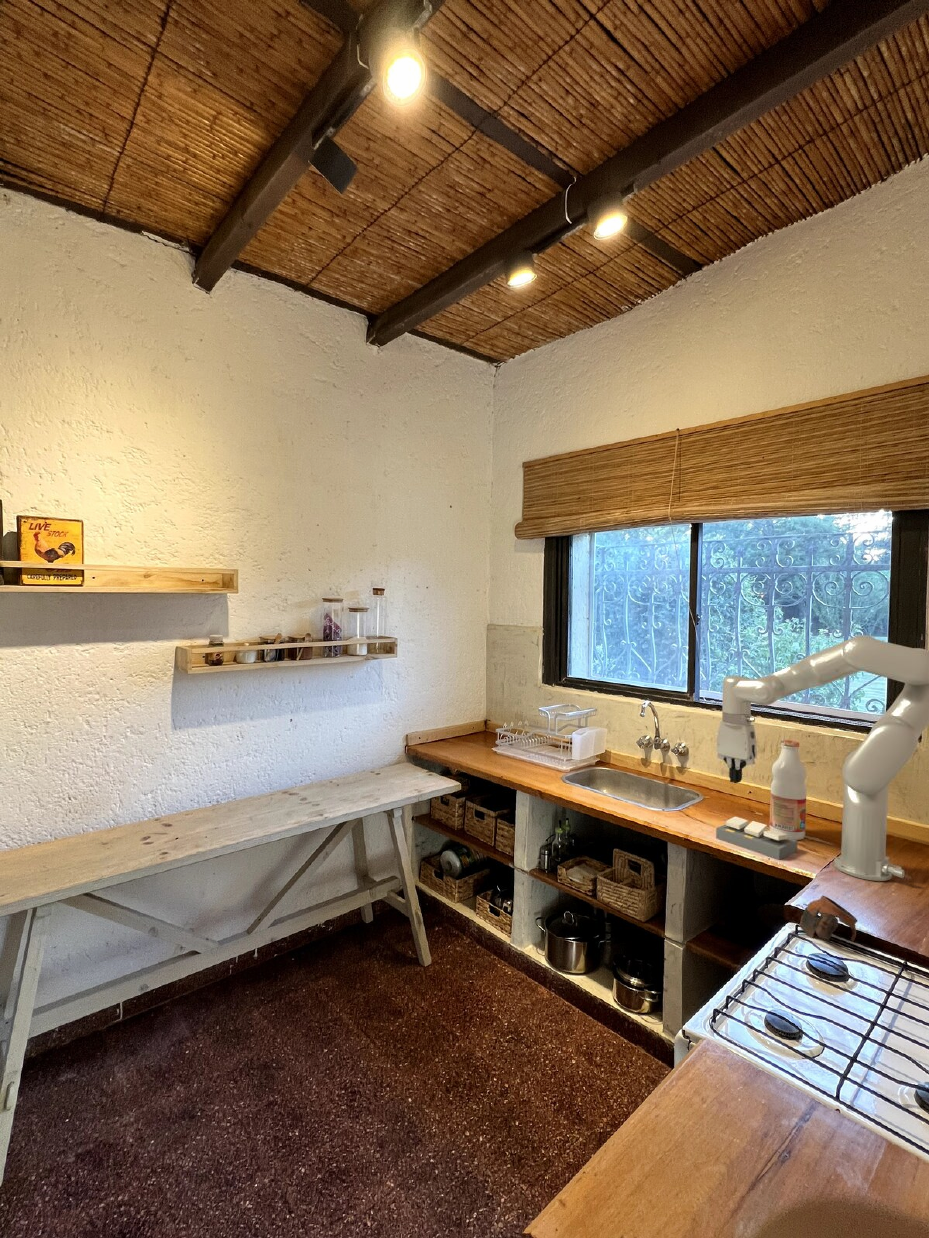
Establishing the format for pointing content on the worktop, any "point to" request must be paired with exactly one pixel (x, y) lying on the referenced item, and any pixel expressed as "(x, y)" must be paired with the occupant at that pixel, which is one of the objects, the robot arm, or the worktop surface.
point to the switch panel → (757, 842)
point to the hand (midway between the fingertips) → (735, 781)
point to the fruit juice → (788, 793)
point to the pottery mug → (825, 918)
